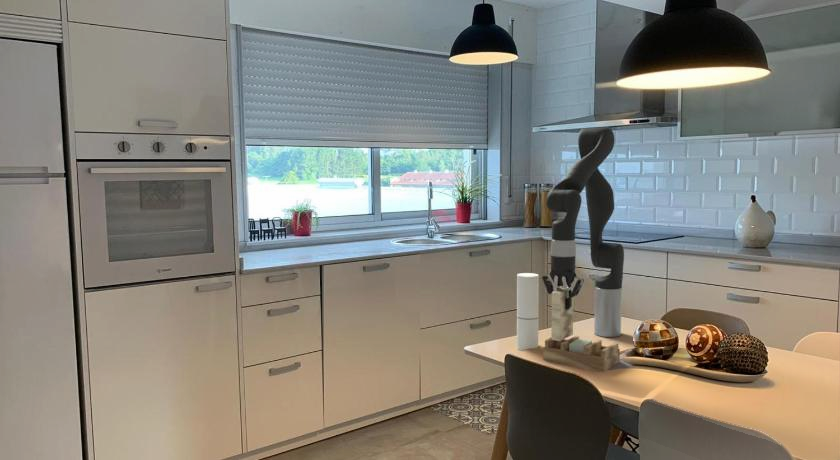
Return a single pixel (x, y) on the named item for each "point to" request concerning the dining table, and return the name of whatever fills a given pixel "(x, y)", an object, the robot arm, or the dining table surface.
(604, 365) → the rack
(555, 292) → the beige mottled rectangular block
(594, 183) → the robot arm
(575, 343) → the offcut upper
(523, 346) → the cylindrical container
